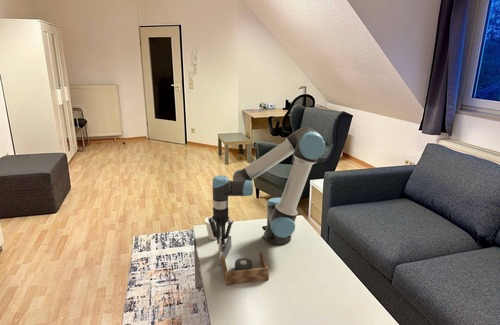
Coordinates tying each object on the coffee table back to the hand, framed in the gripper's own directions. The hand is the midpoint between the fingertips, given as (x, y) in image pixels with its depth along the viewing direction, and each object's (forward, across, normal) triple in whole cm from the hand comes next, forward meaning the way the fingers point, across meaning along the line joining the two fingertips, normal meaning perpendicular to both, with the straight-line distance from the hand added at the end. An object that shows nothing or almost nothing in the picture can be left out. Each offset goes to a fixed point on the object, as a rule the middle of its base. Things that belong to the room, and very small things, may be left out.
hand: (221, 249), depth 175 cm
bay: (+2, +17, -12) cm, 21 cm away
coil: (+2, +15, -9) cm, 18 cm away
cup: (+2, -10, +14) cm, 18 cm away
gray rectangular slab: (+2, +3, -1) cm, 4 cm away
